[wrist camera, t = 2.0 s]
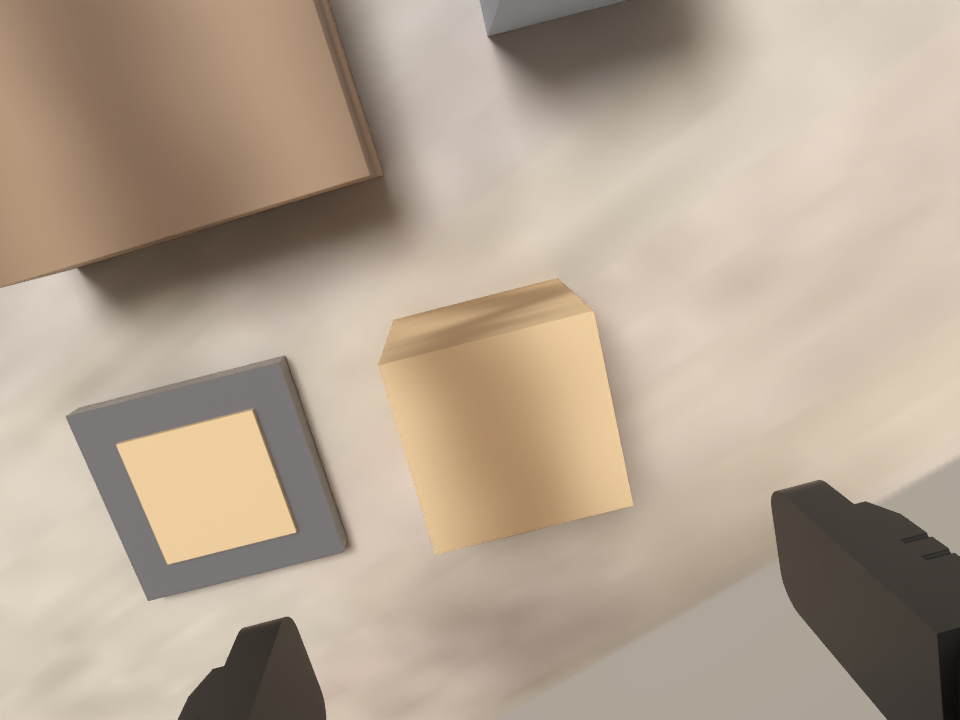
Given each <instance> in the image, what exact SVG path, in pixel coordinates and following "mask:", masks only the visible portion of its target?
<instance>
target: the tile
mask: <svg viewBox="0 0 960 720" xmlns="http://www.w3.org/2000/svg"><path fill="white" fill-rule="evenodd" d="M66 419H67V421H68V423H69V425H70V427H71V430H72V432H73V434H74V436H75V439H76V441H77V443H78V445H79V448H80V450H81V452H82V454H83V456H84V459H85V461H86V463H87V465H88V468H89V470H90V472H91V474H92V477H93V479H94V481H95V483H96V486H97V488H98V490H99V492H100V494H101V497H102V499H103V501H104V503H105V506H106V508H107V510H108V512H109V515H110V517H111V519H112V521H113V524H114V526H115V528H116V530H117V532H118V535H119V537H120V539H121V541H122V544H123V546H124V548H125V550H126V553H127V555H128V557H129V559H130V562H131V564H132V566H133V568H134V570H135V573H136V575H137V577H138V579H139V582H140V584H141V586H142V588H143V591H144V593H145V595H146V597H147V600H148V601H150V600H154V599H158V598H162V597H166V596H170V595H174V594H178V593H182V592H186V591H190V590H194V589H198V588H202V587H206V586H210V585H214V584H218V583H222V582H226V581H230V580H234V579H238V578H242V577H246V576H250V575H254V574H258V573H262V572H266V571H270V570H274V569H278V568H282V567H286V566H290V565H294V564H298V563H302V562H306V561H310V560H314V559H318V558H322V557H326V556H330V555H334V554H338V553H342V552H344V551H345V547H346V543H347V537H346V534H345V531H344V528H343V525H342V522H341V519H340V517H339V514H338V511H337V508H336V505H335V502H334V499H333V496H332V493H331V490H330V487H329V484H328V481H327V478H326V476H325V473H324V470H323V467H322V464H321V461H320V458H319V455H318V452H317V449H316V446H315V443H314V440H313V437H312V434H311V432H310V429H309V426H308V423H307V420H306V417H305V414H304V411H303V408H302V405H301V402H300V399H299V396H298V393H297V391H296V388H295V385H294V382H293V379H292V376H291V373H290V370H289V367H288V364H287V361H286V358H285V356H281V357H278V358H274V359H270V360H266V361H262V362H258V363H254V364H250V365H246V366H242V367H238V368H234V369H230V370H226V371H223V372H219V373H215V374H211V375H207V376H203V377H199V378H195V379H191V380H187V381H183V382H179V383H175V384H171V385H167V386H164V387H160V388H156V389H152V390H148V391H144V392H140V393H136V394H132V395H128V396H124V397H120V398H116V399H112V400H108V401H105V402H101V403H97V404H93V405H89V406H85V407H81V408H78V409H77V410H75V411H73V412H72V413H70V414H69V415H67V416H66Z"/></svg>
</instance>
